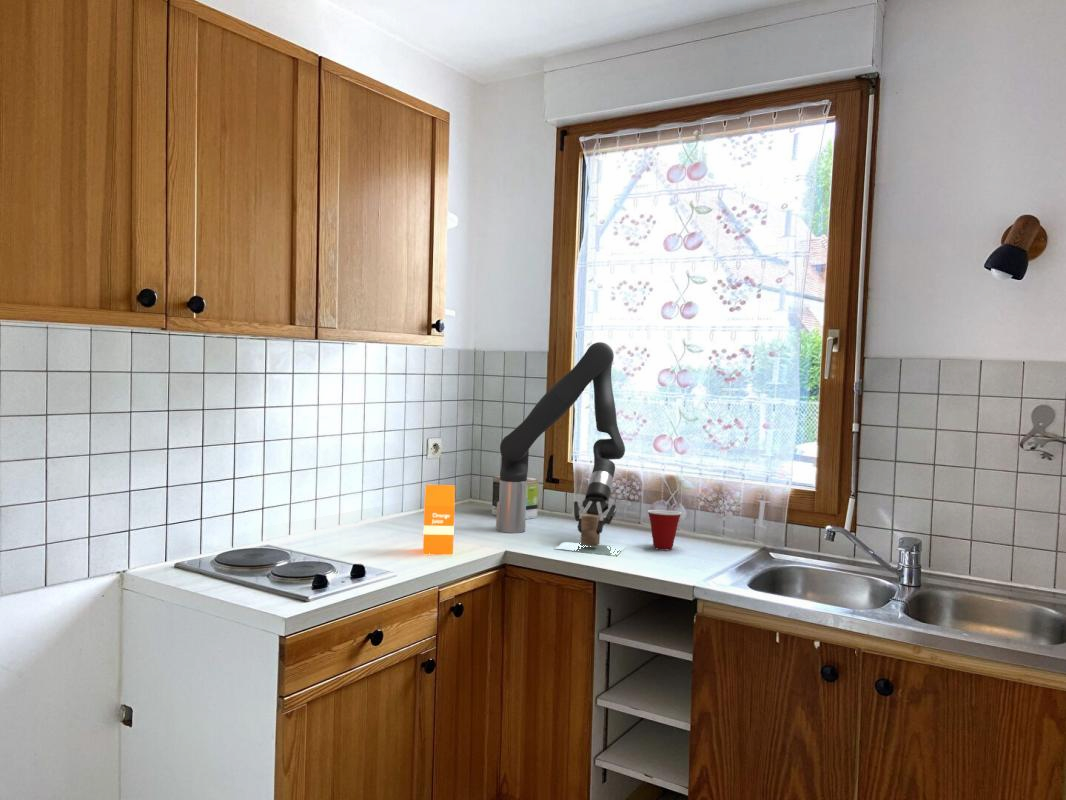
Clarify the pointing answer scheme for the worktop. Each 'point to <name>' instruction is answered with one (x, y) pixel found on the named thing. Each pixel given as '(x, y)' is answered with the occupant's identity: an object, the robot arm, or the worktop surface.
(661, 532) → the plastic cup
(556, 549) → the worktop surface
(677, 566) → the worktop surface
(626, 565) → the worktop surface
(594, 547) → the mat
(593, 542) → the walnut block
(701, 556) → the worktop surface
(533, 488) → the tea box
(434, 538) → the orange juice
